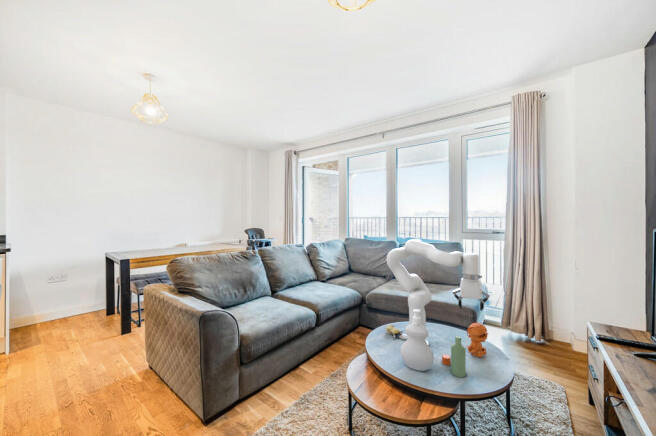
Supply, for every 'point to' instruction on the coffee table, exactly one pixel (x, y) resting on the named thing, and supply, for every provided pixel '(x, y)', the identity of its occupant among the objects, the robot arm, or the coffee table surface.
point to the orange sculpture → (477, 339)
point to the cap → (446, 359)
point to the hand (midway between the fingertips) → (470, 308)
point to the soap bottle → (416, 346)
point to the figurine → (394, 331)
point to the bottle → (458, 358)
